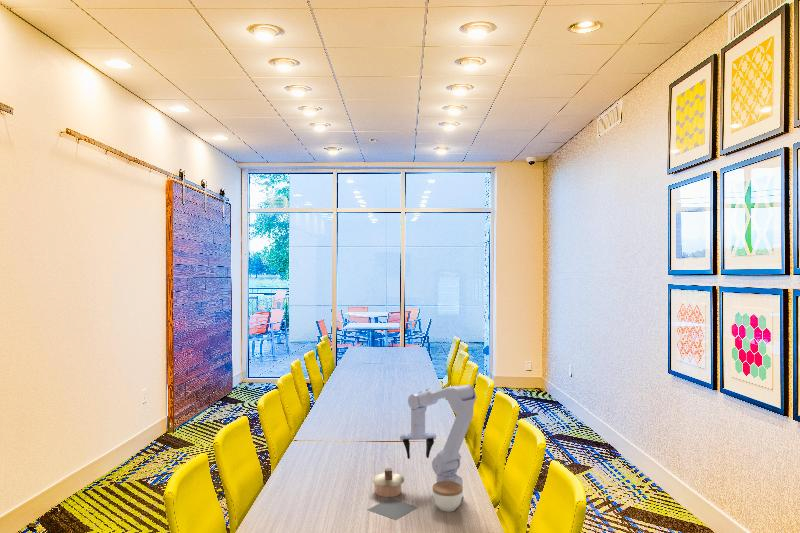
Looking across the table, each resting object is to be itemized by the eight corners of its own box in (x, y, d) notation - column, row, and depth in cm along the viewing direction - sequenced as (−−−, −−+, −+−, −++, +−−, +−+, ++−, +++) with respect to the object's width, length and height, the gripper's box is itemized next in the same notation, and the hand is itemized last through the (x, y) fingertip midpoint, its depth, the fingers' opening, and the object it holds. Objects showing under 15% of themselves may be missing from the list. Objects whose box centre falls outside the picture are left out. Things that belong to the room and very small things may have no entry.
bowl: (406, 491, 216) (406, 479, 216) (390, 499, 208) (390, 487, 208) (386, 484, 222) (386, 473, 222) (369, 492, 214) (370, 481, 214)
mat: (418, 507, 200) (418, 507, 200) (395, 520, 190) (395, 519, 190) (390, 498, 208) (390, 497, 208) (367, 510, 198) (367, 509, 198)
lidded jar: (460, 501, 206) (460, 476, 205) (464, 514, 195) (464, 488, 195) (431, 501, 205) (431, 476, 205) (434, 515, 195) (434, 488, 194)
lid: (401, 474, 221) (401, 463, 221) (406, 486, 209) (406, 474, 209) (371, 475, 219) (371, 464, 219) (374, 487, 207) (374, 476, 208)
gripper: (434, 420, 228) (433, 453, 228) (398, 421, 226) (398, 454, 226) (437, 425, 221) (437, 459, 221) (401, 426, 219) (401, 460, 219)
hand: (417, 457), depth 223 cm, fingers open, 7 cm apart
